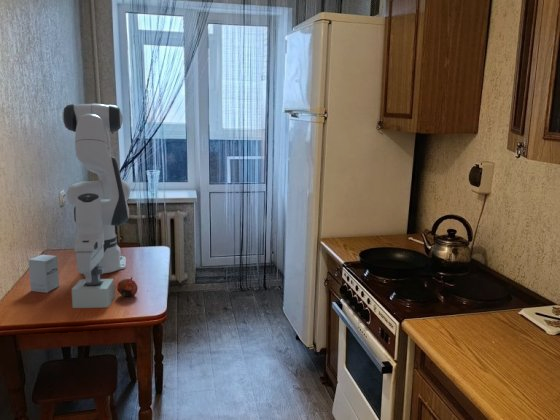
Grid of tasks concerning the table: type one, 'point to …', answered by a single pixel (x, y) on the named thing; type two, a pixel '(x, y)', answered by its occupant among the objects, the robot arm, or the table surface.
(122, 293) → the pomegranate
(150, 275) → the table surface
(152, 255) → the table surface
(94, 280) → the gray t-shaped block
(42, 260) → the supplement box
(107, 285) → the well block
